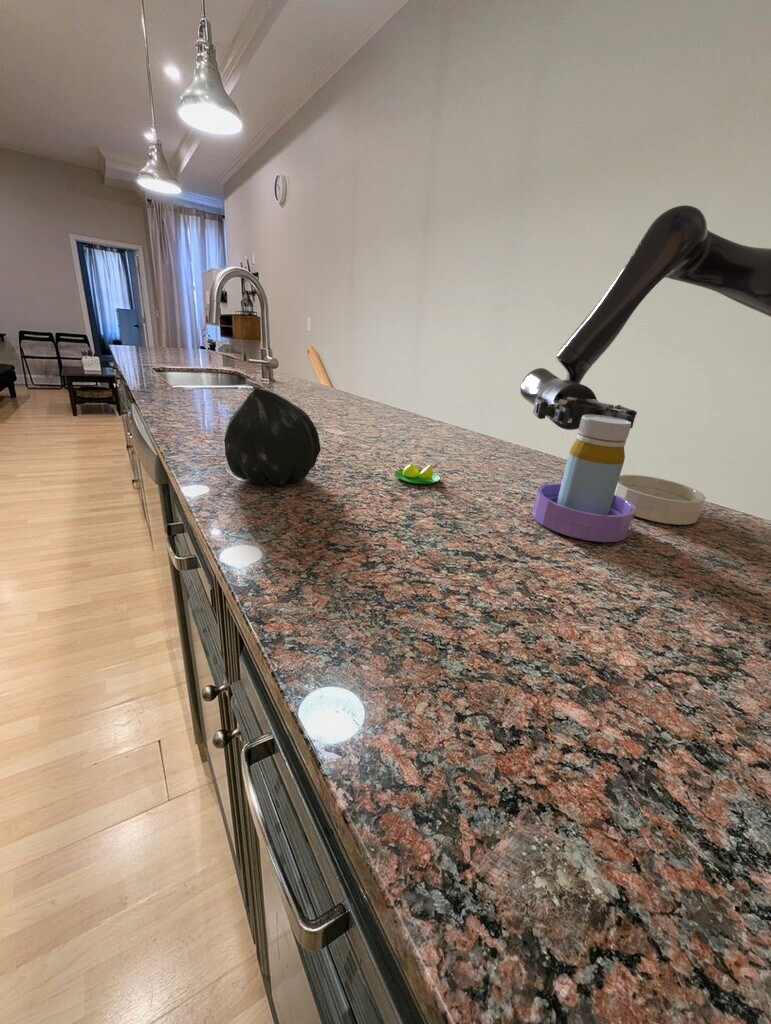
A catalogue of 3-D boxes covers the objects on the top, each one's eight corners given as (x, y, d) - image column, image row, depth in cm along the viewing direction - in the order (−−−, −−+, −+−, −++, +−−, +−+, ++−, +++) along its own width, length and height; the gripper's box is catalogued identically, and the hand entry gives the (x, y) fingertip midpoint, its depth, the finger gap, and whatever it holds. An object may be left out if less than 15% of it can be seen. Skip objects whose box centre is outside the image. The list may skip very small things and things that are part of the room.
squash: (333, 436, 79) (274, 366, 72) (339, 464, 66) (268, 381, 59) (272, 484, 81) (209, 420, 74) (266, 521, 68) (189, 447, 61)
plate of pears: (441, 476, 81) (443, 461, 80) (436, 489, 74) (438, 473, 73) (399, 469, 83) (400, 454, 82) (389, 482, 75) (391, 466, 74)
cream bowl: (619, 490, 83) (625, 470, 81) (702, 513, 75) (711, 490, 73) (596, 506, 73) (603, 483, 72) (688, 534, 65) (698, 509, 64)
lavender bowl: (552, 500, 74) (558, 477, 72) (638, 527, 66) (646, 502, 65) (516, 520, 65) (522, 494, 63) (611, 553, 57) (620, 525, 55)
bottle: (613, 526, 65) (645, 423, 59) (585, 534, 61) (616, 425, 55) (571, 509, 70) (597, 413, 64) (543, 516, 66) (568, 414, 60)
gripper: (530, 377, 77) (552, 388, 62) (614, 385, 76) (657, 399, 61) (521, 420, 80) (540, 441, 65) (602, 429, 79) (640, 452, 64)
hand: (597, 420), depth 63 cm, fingers open, 8 cm apart
